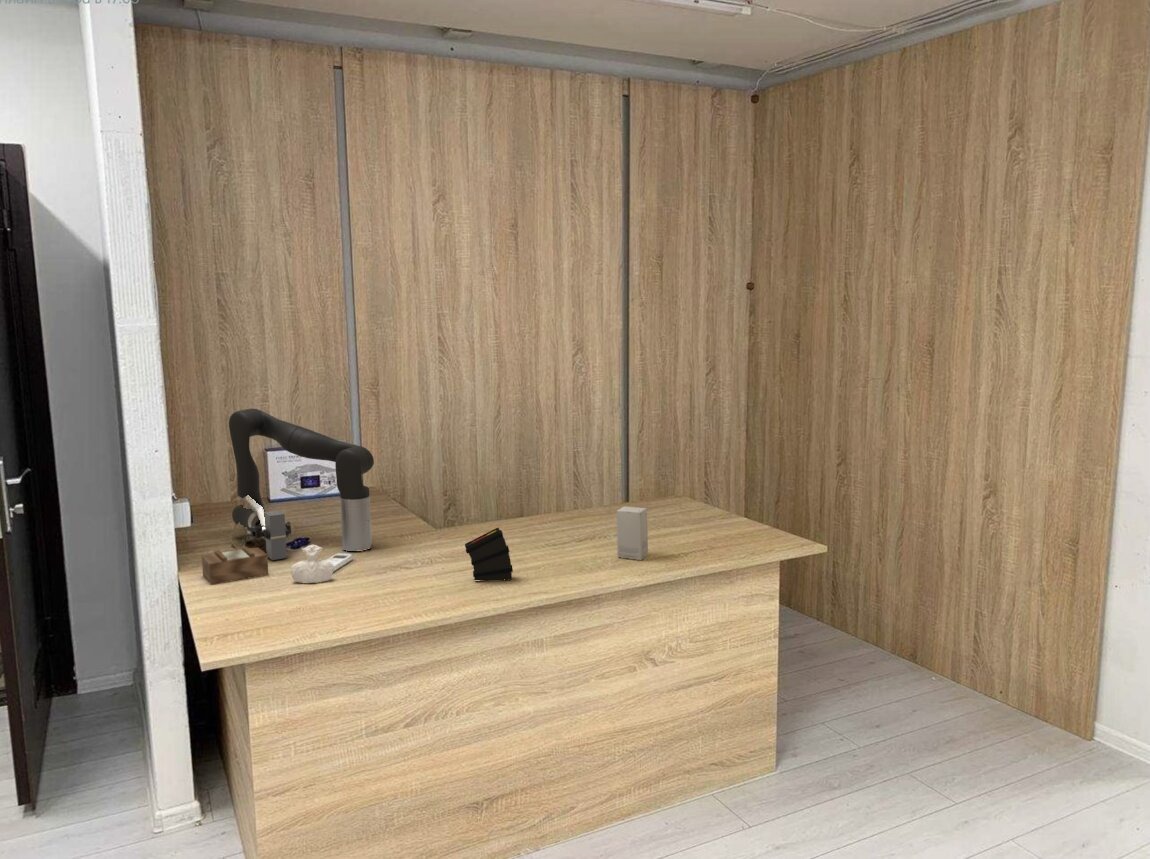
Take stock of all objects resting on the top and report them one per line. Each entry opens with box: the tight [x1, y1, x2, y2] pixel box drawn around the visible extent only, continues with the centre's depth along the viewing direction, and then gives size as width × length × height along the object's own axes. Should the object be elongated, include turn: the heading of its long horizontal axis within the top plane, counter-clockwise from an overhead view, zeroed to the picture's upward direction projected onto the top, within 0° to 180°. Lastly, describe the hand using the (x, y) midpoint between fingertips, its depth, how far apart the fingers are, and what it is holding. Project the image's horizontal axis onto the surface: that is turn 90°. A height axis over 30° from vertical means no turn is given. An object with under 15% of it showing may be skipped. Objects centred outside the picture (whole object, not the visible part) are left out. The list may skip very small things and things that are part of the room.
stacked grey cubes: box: [264, 509, 288, 561], centre depth 274 cm, size 6×5×14 cm
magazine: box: [464, 527, 514, 581], centre depth 253 cm, size 4×13×15 cm, turn 98°
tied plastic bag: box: [290, 544, 335, 584], centre depth 253 cm, size 12×8×11 cm
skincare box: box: [616, 505, 649, 561], centre depth 275 cm, size 8×7×16 cm
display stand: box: [201, 545, 269, 585], centre depth 258 cm, size 16×10×7 cm, turn 125°
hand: (278, 535), depth 272 cm, fingers closed on stacked grey cubes, 4 cm apart
